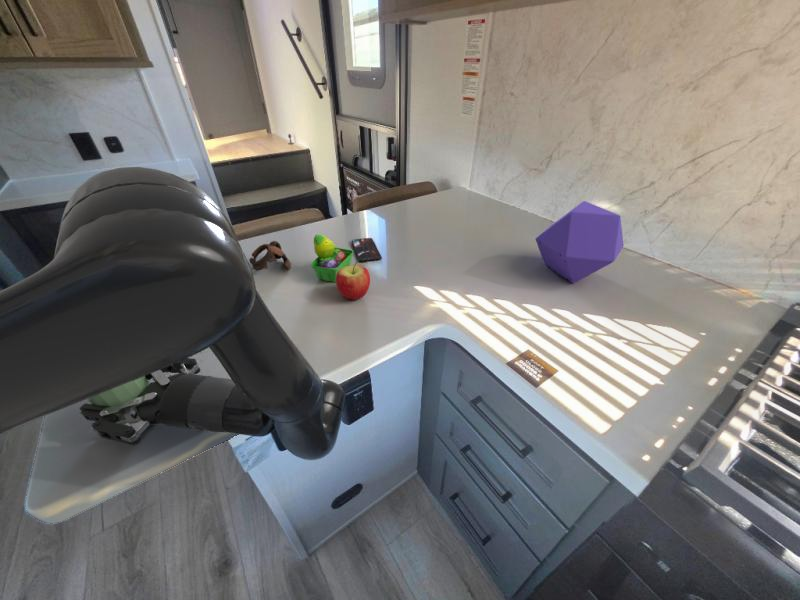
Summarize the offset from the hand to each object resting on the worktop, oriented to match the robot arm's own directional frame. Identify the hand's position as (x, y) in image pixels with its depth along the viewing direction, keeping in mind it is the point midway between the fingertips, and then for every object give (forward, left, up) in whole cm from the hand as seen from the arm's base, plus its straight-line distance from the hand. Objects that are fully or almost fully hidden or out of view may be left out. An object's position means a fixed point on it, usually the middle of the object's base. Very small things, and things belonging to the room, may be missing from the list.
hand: (107, 389), depth 48 cm
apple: (+30, -37, -7) cm, 49 cm away
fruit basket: (+43, -31, -7) cm, 53 cm away
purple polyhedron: (+36, -99, -7) cm, 106 cm away
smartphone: (+55, -41, -6) cm, 69 cm away
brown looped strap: (+47, -14, -7) cm, 50 cm away
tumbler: (-1, -2, -6) cm, 6 cm away
